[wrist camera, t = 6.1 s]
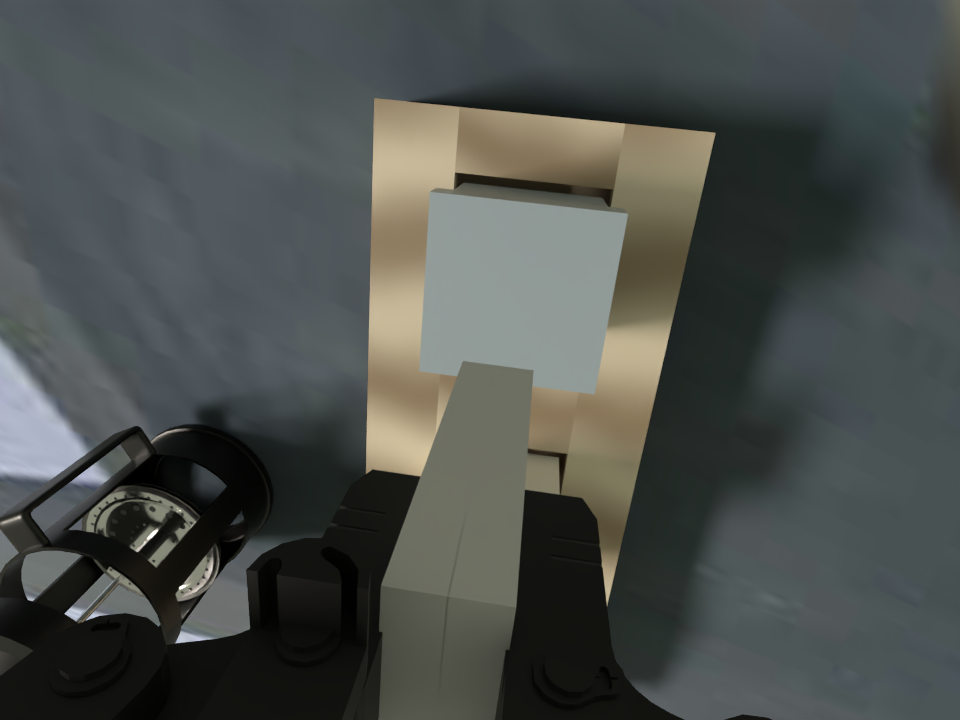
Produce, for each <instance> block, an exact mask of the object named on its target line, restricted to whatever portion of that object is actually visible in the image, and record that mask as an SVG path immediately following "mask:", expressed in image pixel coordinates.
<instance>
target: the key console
mask: <svg viewBox="0 0 960 720" xmlns="http://www.w3.org/2000/svg"><path fill="white" fill-rule="evenodd" d="M714 138H715V133H713V132H703V131H693V130H683V129H673V128H663V127H653V126H643V125H634V124H624V123H614V122H604V121H594V120H584V119H574V118H564V117H554V116H544V115H534V114H524V113H515V112H505V111H495V110H485V109H475V108H465V107H455V106H445V105H435V104H425V103H415V102H405V101H396V100H386V99H376V98H374V140H373V184H372V228H371V271H370V315H369V359H368V403H367V446H366V474H367V473H368V472H370V471H371V470H372V469H374V470H381V471H387V472H394V473H401V474H408V475H415V476H421V474H422V472H423V469H424V466H425V464H426V461H427V458H428V455H429V453H430V450H431V447H432V444H433V442H434V439H435V436H436V433H437V431H438V428H439V425H440V422H441V420H442V417H443V414H444V411H445V409H446V406H447V403H448V400H449V398H450V395H451V392H452V389H453V387H454V384H455V381H456V379H457V376H451V375H443V374H436V373H428V372H420V371H419V367H420V350H421V333H422V316H423V299H424V282H425V265H426V248H427V231H428V214H429V197H430V191H432V190H433V189H435V188H442V189H452V190H455V189H456V188H457V187H459V186H460V185H461V184H463V183H473V184H482V185H491V186H500V187H509V188H518V189H528V190H537V191H546V192H555V193H564V194H573V195H582V196H591V197H601V198H603V199H604V201H605V203H606V204H607V206H608V207H615V208H624V209H625V210H626V212H627V213H628V217H627V223H626V228H625V234H624V239H623V244H622V250H621V255H620V261H619V266H618V271H617V277H616V282H615V288H614V293H613V298H612V304H611V309H610V314H609V320H608V325H607V331H606V336H605V341H604V347H603V352H602V358H601V363H600V368H599V374H598V379H597V385H596V390H595V394H587V393H580V392H572V391H565V390H557V389H549V388H542V387H534V386H532V399H531V413H530V426H529V440H528V453H529V454H537V455H544V456H551V457H558V458H559V491H560V495H565V496H572V497H579V498H583V500H584V501H585V502H586V504H587V505H588V507H589V508H590V510H591V511H592V513H593V514H594V515H595V517H596V518H597V521H598V530H599V539H600V548H601V557H602V567H603V575H604V584H605V593H606V602H607V604H608V600H609V596H610V591H611V587H612V583H613V578H614V574H615V570H616V565H617V561H618V556H619V552H620V548H621V543H622V539H623V535H624V530H625V526H626V522H627V517H628V513H629V508H630V504H631V500H632V495H633V491H634V487H635V482H636V478H637V474H638V469H639V465H640V460H641V456H642V452H643V447H644V443H645V439H646V434H647V430H648V426H649V421H650V417H651V412H652V408H653V404H654V399H655V395H656V391H657V386H658V382H659V378H660V373H661V369H662V365H663V360H664V356H665V351H666V347H667V343H668V338H669V334H670V330H671V325H672V321H673V317H674V312H675V308H676V303H677V299H678V295H679V290H680V286H681V282H682V277H683V273H684V269H685V264H686V260H687V255H688V251H689V247H690V242H691V238H692V234H693V229H694V225H695V221H696V216H697V212H698V207H699V203H700V199H701V194H702V190H703V186H704V181H705V177H706V173H707V168H708V164H709V160H710V155H711V151H712V146H713V142H714Z"/></svg>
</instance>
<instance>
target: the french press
mask: <svg viewBox="0 0 960 720" xmlns="http://www.w3.org/2000/svg"><path fill="white" fill-rule="evenodd" d="M119 444H121V446H122V447H123V449H124V450H125V452H126V453H127V455H128V456H129V457H130V459H131V460H132V461H131V462H130V463H128V464H127V465H126V466H125V467H123V468H122V469H121V470H120V471H119V472H117V473H116V474H115V475H114V476H112V477H111V478H110V479H109V480H108V481H106V482H105V483H104V484H103V485H101V486H100V487H99V488H98V489H97V490H95V491H94V492H93V493H92V494H90V495H89V496H88V497H87V498H86V499H84V500H83V501H82V502H81V503H79V504H78V505H77V506H76V507H75V508H73V509H72V510H71V511H70V512H68V513H67V514H66V515H65V516H64V517H62V518H61V519H60V520H59V521H57V522H56V523H55V524H54V525H53V526H51V527H50V528H49V529H48V530H46V531H45V532H44V533H43V531H42V530H41V529H40V527H39V526H38V525H37V523H36V522H35V521H34V520H33V518H32V516H31V512H32V511H33V510H34V509H35V508H36V507H38V506H39V505H40V504H42V503H43V502H44V501H45V500H47V499H48V498H49V497H51V496H52V495H53V494H55V493H56V492H57V491H59V490H60V489H61V488H63V487H64V486H65V485H67V484H68V483H69V482H71V481H72V480H73V479H75V478H76V477H77V476H78V475H80V474H81V473H82V472H84V471H85V470H86V469H88V468H89V467H90V466H92V465H93V464H94V463H96V462H97V461H98V460H100V459H101V458H102V457H104V456H105V455H106V454H108V453H109V452H110V451H111V450H113V449H114V448H115V447H117V446H118V445H119ZM163 456H171V457H178V458H182V459H185V460H188V461H192V462H194V463H196V464H198V465H200V466H202V467H204V468H206V469H207V470H209V471H210V472H212V473H213V474H215V475H216V476H217V477H219V478H220V479H221V480H222V481H223V482H224V483H225V484H226V485H227V487H226V488H225V489H224V490H223V492H222V493H221V494H220V495H219V496H218V497H217V498H216V500H215V501H214V502H213V503H212V504H211V505H210V506H209V508H208V509H207V510H206V511H205V512H204V513H203V512H202V511H201V510H200V509H199V508H197V507H196V506H195V505H194V504H193V503H191V502H190V501H188V500H187V499H185V498H184V497H182V496H181V495H179V494H177V493H175V492H173V491H171V490H169V489H166V488H163V487H159V485H158V479H157V472H158V466H159V463H160V461H161V459H162V458H163ZM272 503H273V489H272V485H271V482H270V478H269V476H268V474H267V472H266V470H265V468H264V466H263V464H262V463H261V462H260V460H259V459H258V458H257V456H256V455H255V454H254V453H253V452H252V451H251V450H250V449H249V448H248V447H247V446H246V445H244V444H243V443H242V442H240V441H239V440H237V439H236V438H235V437H233V436H231V435H229V434H227V433H225V432H223V431H220V430H217V429H214V428H211V427H206V426H200V425H182V426H178V427H174V428H170V429H168V430H166V431H164V432H162V433H160V434H158V435H157V436H156V437H155V438H154V439H152V440H151V441H149V439H148V438H147V436H146V435H145V433H144V432H143V430H142V429H141V428H140V427H139V426H134V427H132V428H129V429H126V430H124V431H121V432H118V433H116V434H114V435H112V436H111V437H109V438H108V439H107V440H105V441H104V442H102V443H101V444H100V445H98V446H97V447H96V448H94V449H93V450H91V451H90V452H89V453H87V454H86V455H85V456H83V457H82V458H80V459H79V460H78V461H76V462H75V463H74V464H72V465H71V466H69V467H68V468H67V469H65V470H64V471H62V472H61V473H60V474H58V475H57V476H56V477H54V478H53V479H51V480H50V481H49V482H47V483H46V484H45V485H43V486H42V487H40V488H39V489H38V490H36V491H35V492H33V493H32V494H31V495H29V496H28V497H27V498H25V499H24V500H22V501H21V502H20V503H18V504H17V505H16V506H14V507H13V508H11V509H10V510H9V511H7V512H6V513H5V514H3V515H2V516H1V517H0V529H1V531H2V532H3V533H4V534H5V536H6V537H7V538H8V539H9V541H10V542H11V543H12V544H13V546H14V547H15V548H16V549H17V551H18V552H19V553H18V554H17V555H16V556H15V557H14V558H12V559H11V560H10V561H9V562H8V563H7V564H6V565H5V566H4V568H3V570H2V571H1V573H0V676H1V675H2V674H3V673H5V672H6V671H7V670H9V669H10V668H11V667H13V666H14V665H15V664H17V663H18V662H19V661H20V660H22V659H23V658H24V657H26V656H27V655H28V654H30V653H31V652H32V651H34V650H35V649H36V648H38V647H39V646H40V645H41V644H43V643H44V642H45V641H47V640H49V639H50V638H52V637H54V636H55V635H57V634H59V633H60V632H62V631H64V630H65V629H67V628H69V627H70V626H72V625H75V624H78V623H81V622H84V621H85V620H86V619H87V618H88V617H89V616H90V615H91V614H92V613H93V612H94V611H95V610H96V609H97V607H98V606H99V605H100V604H101V603H102V602H103V601H104V600H105V599H106V598H107V597H108V596H109V594H110V593H111V592H112V591H113V590H114V589H115V588H116V587H117V586H118V585H120V586H122V587H124V588H125V589H127V590H129V591H131V592H133V593H135V594H137V595H140V596H143V597H146V598H147V599H148V600H149V602H150V603H151V605H152V607H153V608H154V610H155V612H156V613H157V615H158V618H159V621H160V623H161V624H160V626H159V627H160V628H161V629H162V633H163V636H164V639H165V643H166V645H168V644H175V642H176V640H177V638H178V636H179V634H180V630H181V626H182V625H183V623H184V622H185V620H186V619H187V618H188V616H189V615H190V614H191V612H192V611H193V609H194V608H195V607H196V605H197V604H198V603H199V601H200V600H201V598H202V597H203V596H204V594H205V593H206V592H207V590H208V589H209V587H210V586H211V585H212V583H213V582H214V581H215V579H216V578H217V576H218V575H219V574H220V572H221V571H222V570H223V568H224V567H225V565H226V564H227V563H229V562H230V561H231V560H233V559H234V558H235V557H236V556H237V555H238V554H239V553H240V552H241V550H242V549H243V548H244V546H245V545H246V543H247V542H248V541H249V539H250V538H251V536H253V535H254V534H255V533H257V532H258V531H259V530H260V529H261V527H262V526H263V525H264V524H265V523H266V521H267V519H268V517H269V515H270V513H271V509H272ZM241 510H242V512H243V516H244V520H243V521H241V522H240V523H239V524H236V525H234V526H232V527H229V526H230V524H231V523H232V522H233V520H234V519H235V518H236V517H237V515H238V514H239V513H240V512H241ZM82 517H83V519H82V531H80V530H68V529H69V528H71V527H72V526H73V525H74V524H75V523H76V522H78V521H79V520H80V519H81V518H82ZM39 551H65V552H71V553H77V554H80V555H82V556H81V557H80V558H79V559H78V560H77V561H75V562H74V563H73V564H72V565H71V566H70V567H69V568H68V569H67V570H66V571H65V572H64V573H63V574H62V575H60V576H59V577H58V578H57V579H56V580H55V581H54V582H53V583H52V584H51V585H50V586H49V587H48V588H47V589H45V590H44V591H43V592H42V593H41V594H40V595H39V596H38V597H37V598H36V599H35V600H34V601H29V600H27V598H26V596H25V593H24V589H23V585H22V581H21V569H22V565H23V561H24V558H25V556H26V555H27V554H30V553H34V552H39ZM104 573H105V574H106V575H107V576H109V577H110V578H111V579H112V580H113V582H112V583H111V584H110V585H109V586H108V587H107V588H106V589H105V590H104V591H103V592H102V593H101V595H100V596H99V597H98V598H97V599H96V600H95V601H94V602H93V603H92V604H91V605H90V606H89V607H88V608H87V609H86V610H85V611H84V613H83V614H82V615H81V616H80V617H79V618H78V619H77V620H76V621H74V620H73V619H71V618H70V617H68V616H67V615H65V614H64V613H65V612H66V611H67V610H68V609H69V608H70V607H71V606H72V605H73V604H74V603H75V602H76V601H77V600H78V599H79V598H80V597H81V596H82V595H83V594H84V593H85V592H86V591H87V590H88V589H89V588H90V587H91V586H92V585H93V584H94V583H95V582H96V581H97V580H98V579H99V578H100V577H101V576H102V575H103V574H104Z"/></svg>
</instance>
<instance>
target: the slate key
mask: <svg viewBox="0 0 960 720" xmlns="http://www.w3.org/2000/svg"><path fill="white" fill-rule="evenodd" d="M627 217H628V213H627V212H626V210H625V209H624V208H615V207H608V206H607V204H606V203H605V201H604V199H603V198H601V197H591V196H582V195H573V194H564V193H555V192H546V191H537V190H528V189H518V188H509V187H500V186H491V185H482V184H473V183H463V184H461V185H460V186H459V187H457V188H456V189H455V190H452V189H442V188H435V189H433V190H432V191H430V197H429V214H428V231H427V248H426V265H425V282H424V299H423V316H422V333H421V350H420V367H419V371H420V372H428V373H436V374H443V375H451V376H458V373H459V370H460V368H461V365H462V362H463V361H467V362H475V363H482V364H490V365H497V366H505V367H512V368H520V369H527V370H534V372H533V385H532V386H534V387H542V388H549V389H557V390H565V391H572V392H580V393H587V394H595V390H596V385H597V379H598V374H599V368H600V363H601V358H602V352H603V347H604V341H605V336H606V331H607V325H608V320H609V314H610V309H611V304H612V298H613V293H614V288H615V282H616V277H617V271H618V266H619V261H620V255H621V250H622V244H623V239H624V234H625V228H626V223H627Z"/></svg>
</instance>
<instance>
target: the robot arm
mask: <svg viewBox="0 0 960 720" xmlns="http://www.w3.org/2000/svg"><path fill="white" fill-rule="evenodd" d="M533 372H534V370H527V369H520V368H512V367H505V366H497V365H490V364H482V363H475V362H467V361H463V362H462V365H461V368H460V370H459V373H458V376H457V379H456V381H455V384H454V387H453V389H452V392H451V395H450V398H449V400H448V403H447V406H446V409H445V411H444V414H443V417H442V420H441V422H440V425H439V428H438V431H437V433H436V436H435V439H434V442H433V444H432V447H431V450H430V453H429V455H428V458H427V461H426V464H425V466H424V469H423V472H422V474H421V476H415V475H408V474H401V473H394V472H387V471H381V470H374V469H372V470H371V471H370V472H368V473H367V474H365V475H364V476H363V477H361V478H360V479H359V480H357V481H356V482H354V483H353V484H352V485H351V486H350V488H349V490H348V492H347V493H346V495H345V497H344V499H343V501H342V503H341V504H340V508H339V510H337V512H336V514H335V515H334V517H333V519H332V521H331V523H330V527H329V528H327V530H326V532H325V534H324V536H323V537H322V538H304V539H300V540H295V541H291V542H287V543H282V544H280V545H279V546H277V547H275V548H273V549H271V550H269V551H267V552H265V553H263V554H261V555H260V557H259V558H258V559H257V560H256V561H255V562H254V563H253V564H252V565H251V566H250V567H249V568H248V569H247V570H246V572H247V587H248V601H249V616H250V630H247V631H245V632H242V633H239V634H237V635H233V636H228V637H223V638H218V639H212V640H203V641H194V642H185V643H176V644H168V645H166V643H165V639H164V636H163V633H162V629H161V628H160V627H158V626H157V625H156V624H155V623H153V622H152V621H151V620H149V619H148V618H146V617H141V616H136V615H132V614H127V613H124V614H114V615H104V616H98V617H95V618H92V619H89V620H86V621H84V622H81V623H78V624H75V625H72V626H70V627H69V628H67V629H65V630H64V631H62V632H60V633H59V634H57V635H55V636H54V637H52V638H50V639H49V640H47V641H45V642H44V643H43V644H41V645H40V646H39V647H38V648H36V649H35V650H34V651H32V652H31V653H30V654H28V655H27V656H26V657H24V658H23V659H22V660H20V661H19V662H18V663H17V664H15V665H14V666H13V667H11V668H10V669H9V670H7V671H6V672H5V673H3V674H2V675H1V676H0V720H684V719H682V718H679V717H677V716H675V715H673V714H671V713H669V712H667V711H665V710H664V709H662V708H660V707H659V706H657V705H655V704H653V703H652V702H650V701H649V700H648V699H647V698H645V697H644V696H643V695H642V694H641V693H639V692H638V691H637V690H636V689H635V688H634V687H633V686H632V684H631V683H630V682H629V681H628V680H627V678H626V677H625V676H624V673H623V670H622V669H621V667H620V666H619V665H618V664H617V662H616V660H615V657H614V653H613V649H612V646H611V638H610V629H609V620H608V611H607V602H606V593H605V584H604V575H603V567H602V557H601V548H600V539H599V530H598V521H597V518H596V517H595V515H594V514H593V513H592V511H591V510H590V508H589V507H588V505H587V504H586V502H585V501H584V500H583V498H579V497H572V496H565V495H559V494H552V493H545V492H538V491H531V490H525V481H526V467H527V454H528V440H529V426H530V413H531V399H532V385H533ZM726 720H772V719H769V718H765V717H758V716H750V715H740V716H736V717H733V718H729V719H726Z"/></svg>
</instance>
